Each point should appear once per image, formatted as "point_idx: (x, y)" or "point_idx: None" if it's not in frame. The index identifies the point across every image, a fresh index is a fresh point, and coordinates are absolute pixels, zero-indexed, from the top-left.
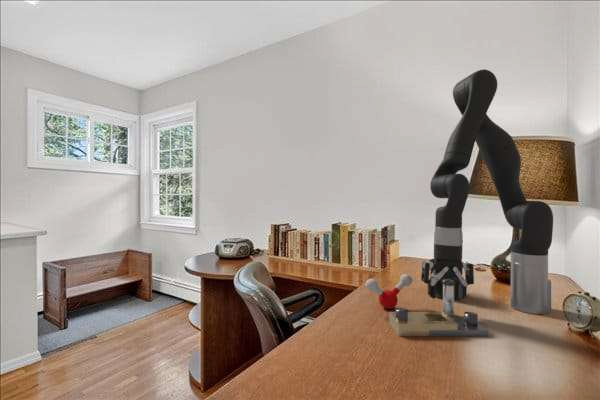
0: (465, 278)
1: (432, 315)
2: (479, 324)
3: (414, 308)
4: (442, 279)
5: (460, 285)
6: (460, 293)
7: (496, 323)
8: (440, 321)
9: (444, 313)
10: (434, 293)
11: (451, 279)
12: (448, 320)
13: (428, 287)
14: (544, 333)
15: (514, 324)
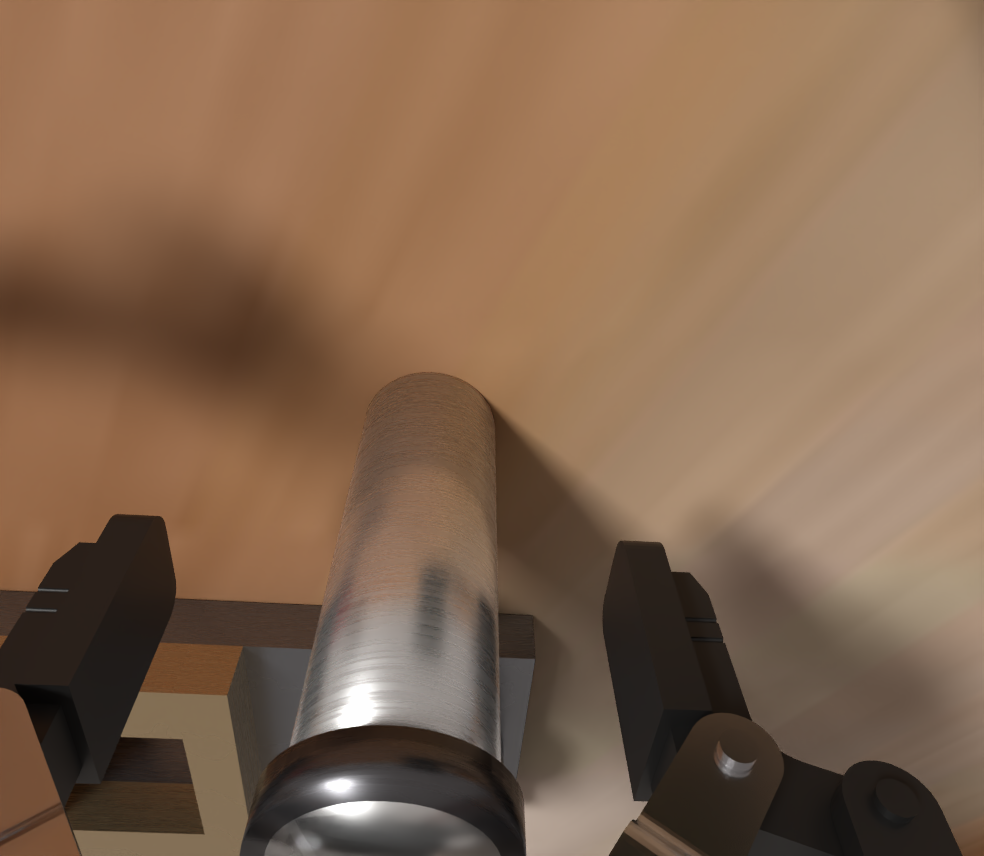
0: (860, 846)
1: None
2: (513, 764)
3: (19, 182)
4: (274, 813)
5: (655, 748)
6: (622, 634)
7: (784, 627)
8: (126, 837)
9: (231, 723)
10: (138, 666)
11: (499, 822)
12: (205, 829)
13: (5, 672)
14: (976, 767)
15: (930, 649)
